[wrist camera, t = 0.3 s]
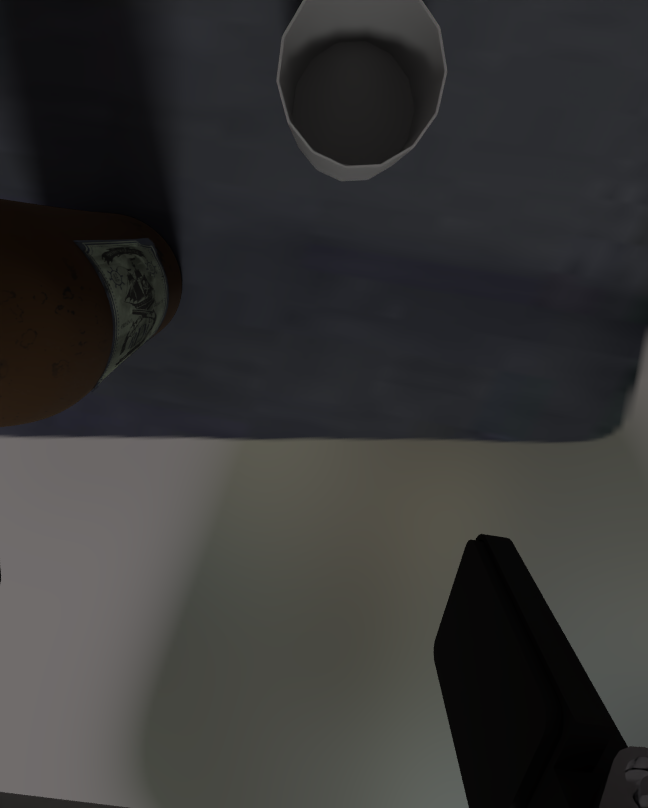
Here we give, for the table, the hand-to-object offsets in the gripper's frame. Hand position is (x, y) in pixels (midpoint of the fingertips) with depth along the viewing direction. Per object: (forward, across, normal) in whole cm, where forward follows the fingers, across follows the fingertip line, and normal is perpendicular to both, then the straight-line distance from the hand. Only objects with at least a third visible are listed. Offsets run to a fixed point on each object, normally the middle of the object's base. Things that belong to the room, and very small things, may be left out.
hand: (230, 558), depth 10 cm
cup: (+31, -1, -13) cm, 34 cm away
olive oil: (+31, +14, +1) cm, 34 cm away
